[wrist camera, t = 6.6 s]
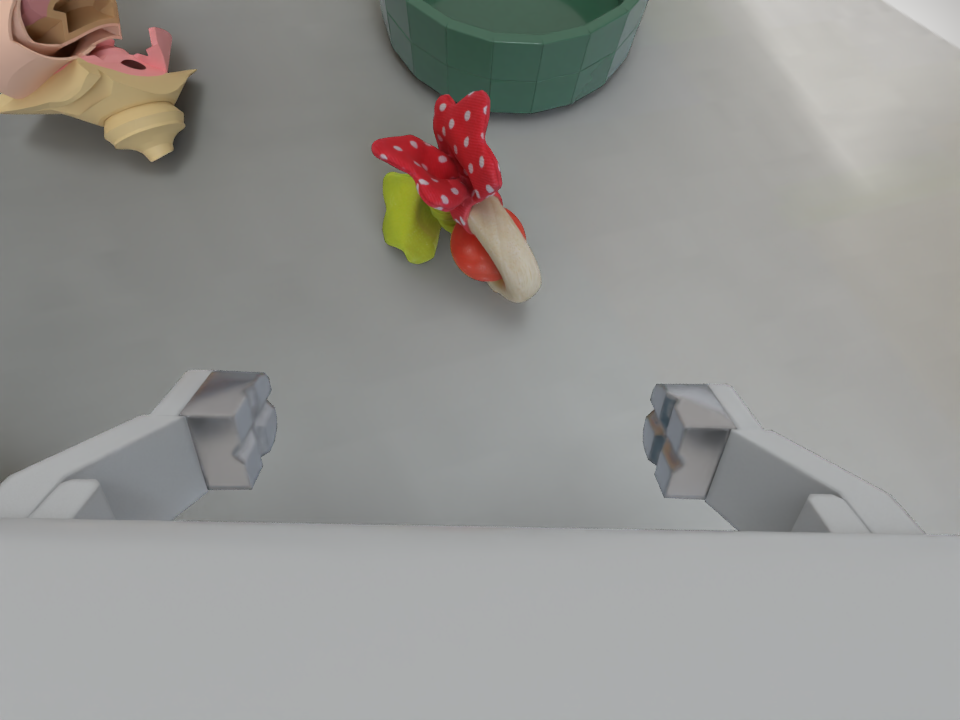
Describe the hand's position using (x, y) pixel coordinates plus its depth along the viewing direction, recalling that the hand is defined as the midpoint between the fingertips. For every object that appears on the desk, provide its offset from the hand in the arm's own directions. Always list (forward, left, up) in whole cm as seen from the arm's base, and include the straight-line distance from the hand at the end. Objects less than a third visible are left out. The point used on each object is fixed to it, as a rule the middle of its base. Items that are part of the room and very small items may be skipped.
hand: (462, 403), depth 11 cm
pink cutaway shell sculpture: (+19, +20, -16) cm, 31 cm away
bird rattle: (+11, 0, -16) cm, 19 cm away
